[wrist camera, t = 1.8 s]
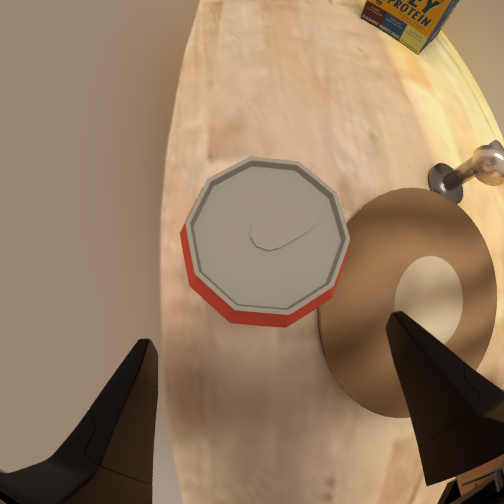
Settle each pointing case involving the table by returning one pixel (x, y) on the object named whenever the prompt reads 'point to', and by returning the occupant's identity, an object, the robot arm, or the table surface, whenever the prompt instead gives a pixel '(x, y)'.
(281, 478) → the table surface
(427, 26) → the protein box
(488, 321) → the lazy susan
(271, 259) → the beverage can
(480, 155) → the metal door stop
